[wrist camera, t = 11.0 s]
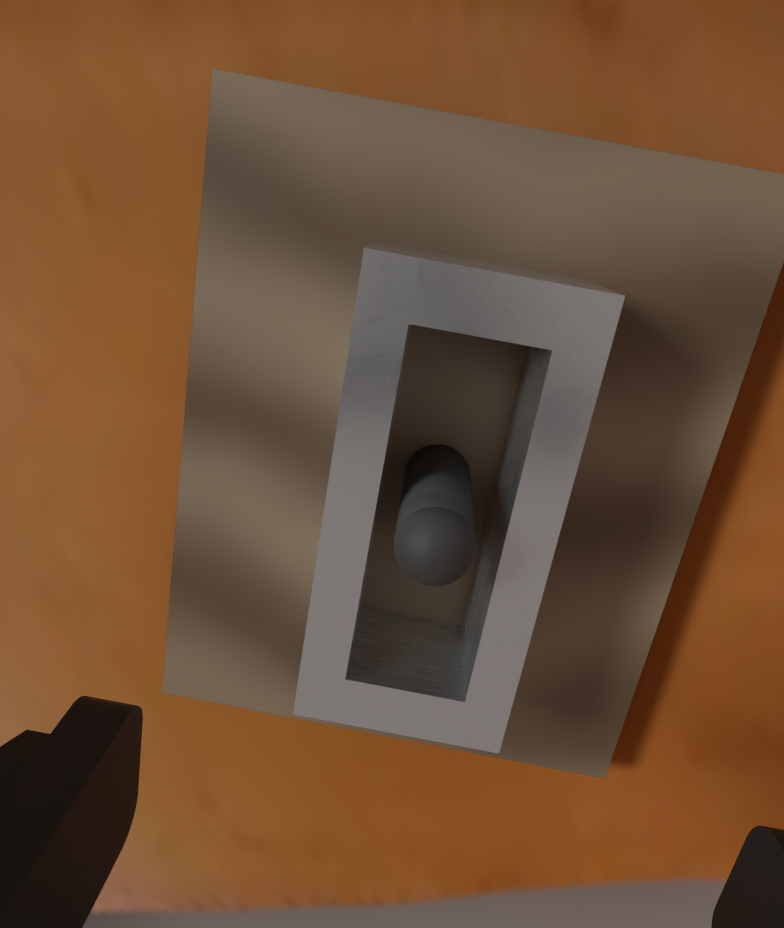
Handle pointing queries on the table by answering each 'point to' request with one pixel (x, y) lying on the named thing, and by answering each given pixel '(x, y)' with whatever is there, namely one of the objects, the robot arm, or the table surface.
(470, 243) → the keeper plate
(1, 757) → the robot arm
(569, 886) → the table surface
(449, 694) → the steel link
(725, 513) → the table surface
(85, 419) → the table surface
